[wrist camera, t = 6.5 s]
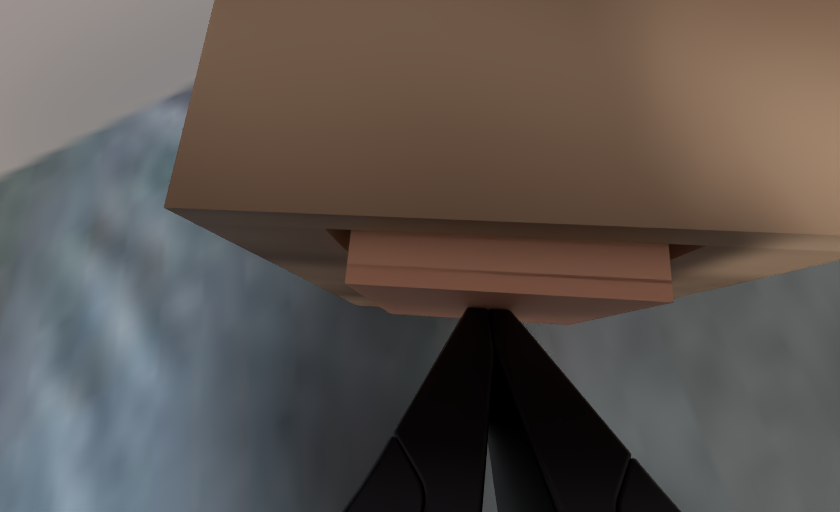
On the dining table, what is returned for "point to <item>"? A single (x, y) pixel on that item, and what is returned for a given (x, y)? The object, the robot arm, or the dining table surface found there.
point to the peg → (507, 275)
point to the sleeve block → (519, 129)
